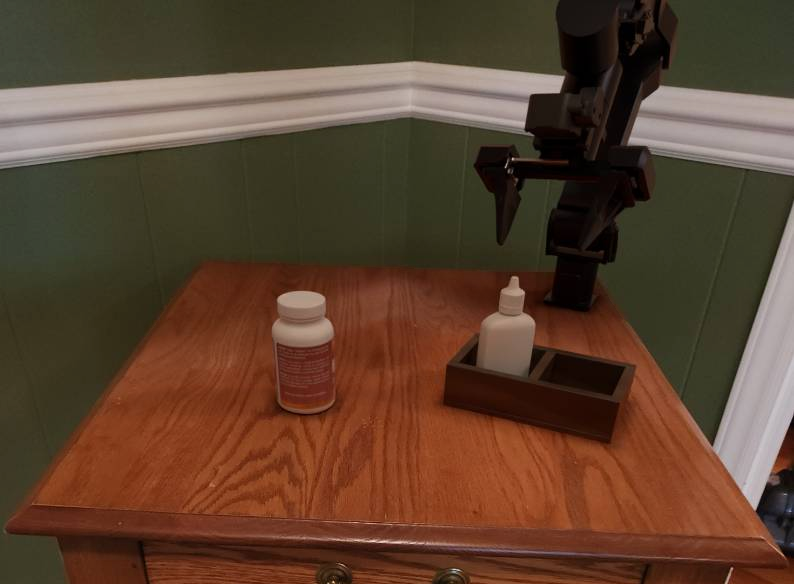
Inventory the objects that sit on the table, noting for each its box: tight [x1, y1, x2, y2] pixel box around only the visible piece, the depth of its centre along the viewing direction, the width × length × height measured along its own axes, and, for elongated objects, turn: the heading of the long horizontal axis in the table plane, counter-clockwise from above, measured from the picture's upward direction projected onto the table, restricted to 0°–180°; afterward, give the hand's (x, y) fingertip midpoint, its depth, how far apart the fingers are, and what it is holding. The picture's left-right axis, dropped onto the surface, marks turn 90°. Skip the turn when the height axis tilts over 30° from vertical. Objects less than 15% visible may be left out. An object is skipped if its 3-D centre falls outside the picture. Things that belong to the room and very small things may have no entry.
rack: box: [442, 332, 637, 444], centre depth 77 cm, size 9×18×5 cm, turn 66°
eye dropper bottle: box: [476, 275, 536, 378], centre depth 75 cm, size 4×6×12 cm
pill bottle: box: [271, 290, 336, 415], centre depth 74 cm, size 6×6×11 cm
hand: (538, 247), depth 78 cm, fingers open, 9 cm apart
